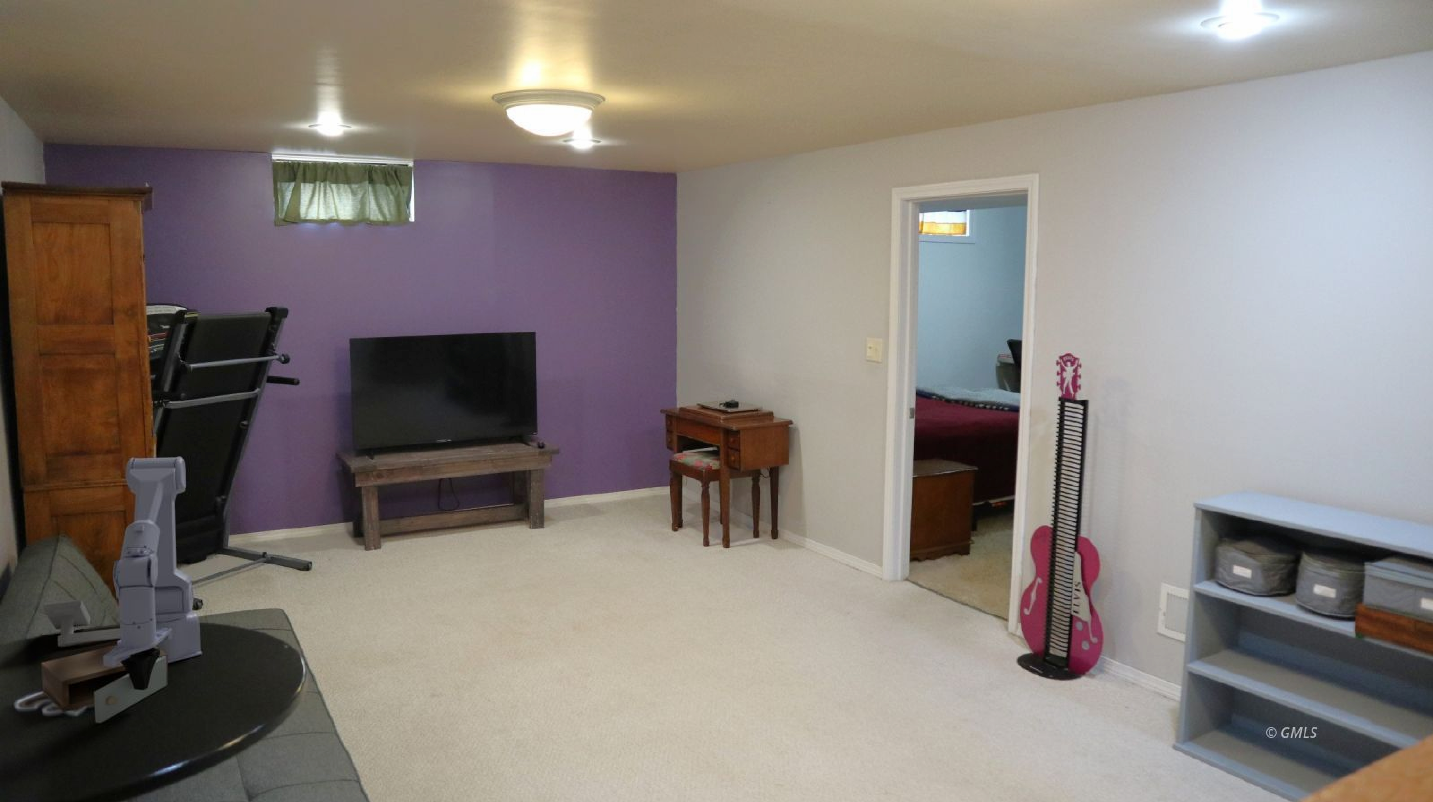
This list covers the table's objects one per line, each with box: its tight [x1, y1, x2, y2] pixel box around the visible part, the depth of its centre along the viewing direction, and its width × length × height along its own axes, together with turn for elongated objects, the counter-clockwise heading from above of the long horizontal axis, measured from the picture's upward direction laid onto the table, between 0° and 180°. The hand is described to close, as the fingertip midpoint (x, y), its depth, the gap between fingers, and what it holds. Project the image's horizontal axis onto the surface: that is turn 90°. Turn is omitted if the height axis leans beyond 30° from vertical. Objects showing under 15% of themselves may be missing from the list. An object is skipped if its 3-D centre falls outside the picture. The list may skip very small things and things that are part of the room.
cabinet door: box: [94, 656, 168, 724], centre depth 182 cm, size 17×2×6 cm, turn 171°
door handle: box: [42, 599, 121, 648], centre depth 213 cm, size 18×8×20 cm
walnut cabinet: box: [41, 644, 169, 713], centre depth 188 cm, size 18×12×6 cm, turn 140°
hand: (140, 688), depth 181 cm, fingers closed, pressing on cabinet door
